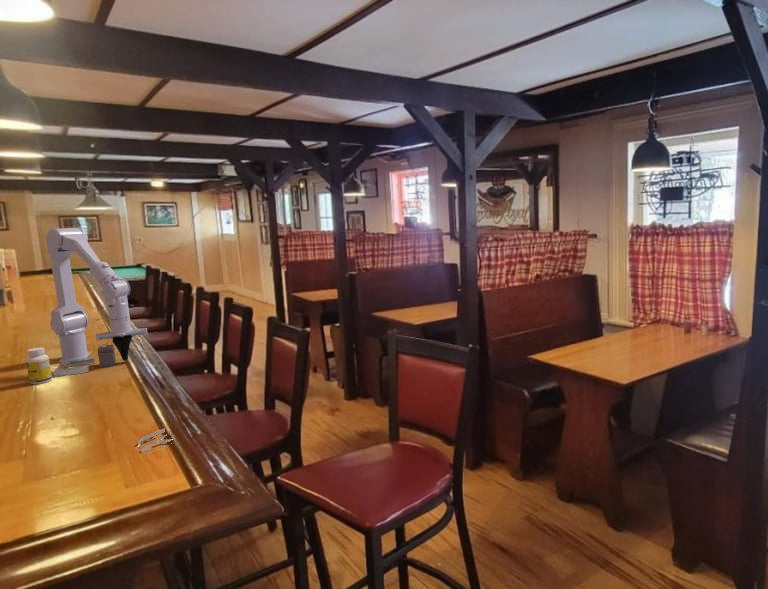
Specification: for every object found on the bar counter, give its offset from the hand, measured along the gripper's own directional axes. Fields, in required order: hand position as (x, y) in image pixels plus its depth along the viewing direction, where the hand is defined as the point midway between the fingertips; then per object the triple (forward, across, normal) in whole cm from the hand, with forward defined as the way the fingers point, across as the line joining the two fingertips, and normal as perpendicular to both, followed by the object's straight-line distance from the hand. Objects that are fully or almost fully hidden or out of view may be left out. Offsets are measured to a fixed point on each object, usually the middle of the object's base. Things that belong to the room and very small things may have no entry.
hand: (125, 359), depth 164 cm
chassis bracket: (+1, -14, 0) cm, 14 cm away
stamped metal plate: (+2, +13, -73) cm, 74 cm away
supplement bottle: (+1, -21, -10) cm, 23 cm away
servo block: (+1, -5, 0) cm, 5 cm away
